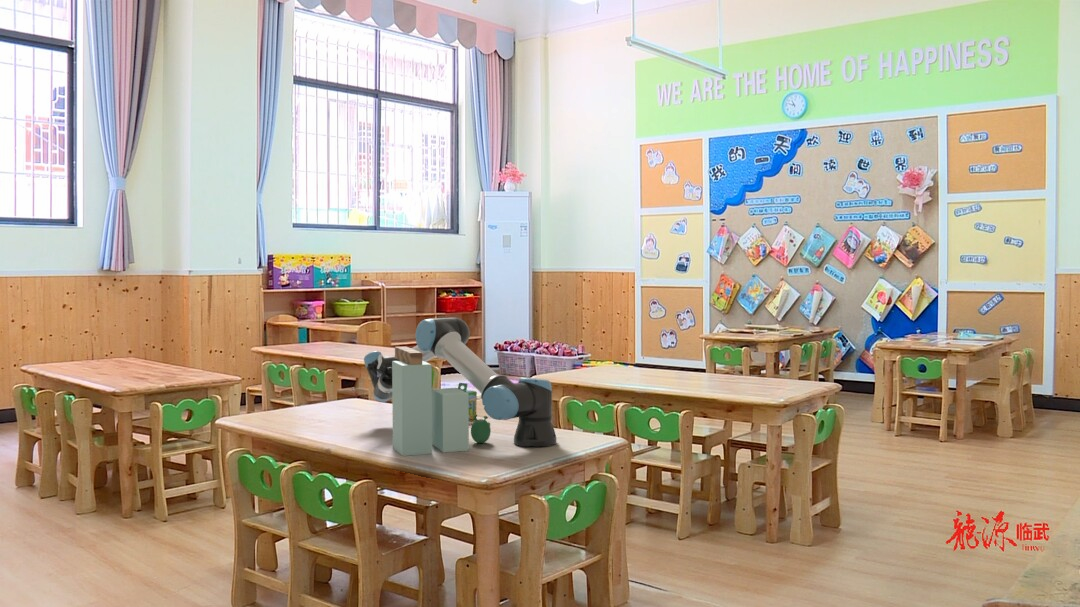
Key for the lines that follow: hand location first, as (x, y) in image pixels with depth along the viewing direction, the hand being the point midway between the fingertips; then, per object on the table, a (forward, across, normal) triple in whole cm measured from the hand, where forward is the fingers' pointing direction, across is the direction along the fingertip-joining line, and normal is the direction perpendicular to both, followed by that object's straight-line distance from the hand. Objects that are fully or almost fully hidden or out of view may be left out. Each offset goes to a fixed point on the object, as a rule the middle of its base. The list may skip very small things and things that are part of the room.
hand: (399, 357), depth 323 cm
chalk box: (-40, -32, -11) cm, 53 cm away
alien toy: (+3, -25, -35) cm, 43 cm away
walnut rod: (+17, +1, -9) cm, 19 cm away
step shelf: (+6, -6, -37) cm, 38 cm away
